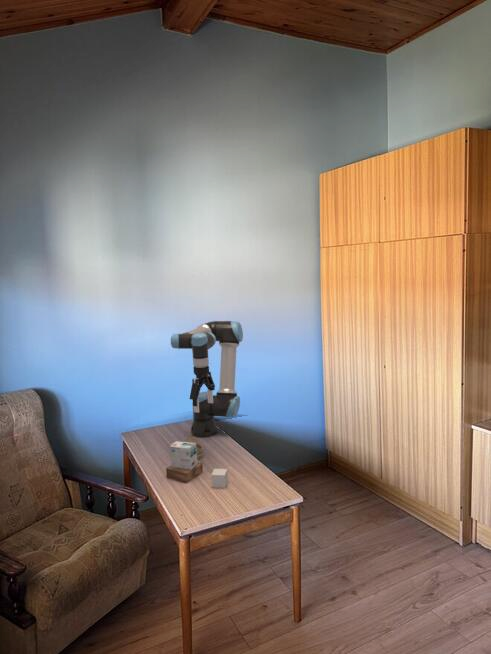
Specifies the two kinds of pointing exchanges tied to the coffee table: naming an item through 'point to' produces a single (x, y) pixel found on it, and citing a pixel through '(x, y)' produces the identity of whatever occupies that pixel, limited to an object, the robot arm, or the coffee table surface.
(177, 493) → the coffee table surface
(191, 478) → the base block
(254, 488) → the coffee table surface
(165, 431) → the coffee table surface
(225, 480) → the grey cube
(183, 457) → the light bulb box
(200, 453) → the ceramic model
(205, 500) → the coffee table surface
